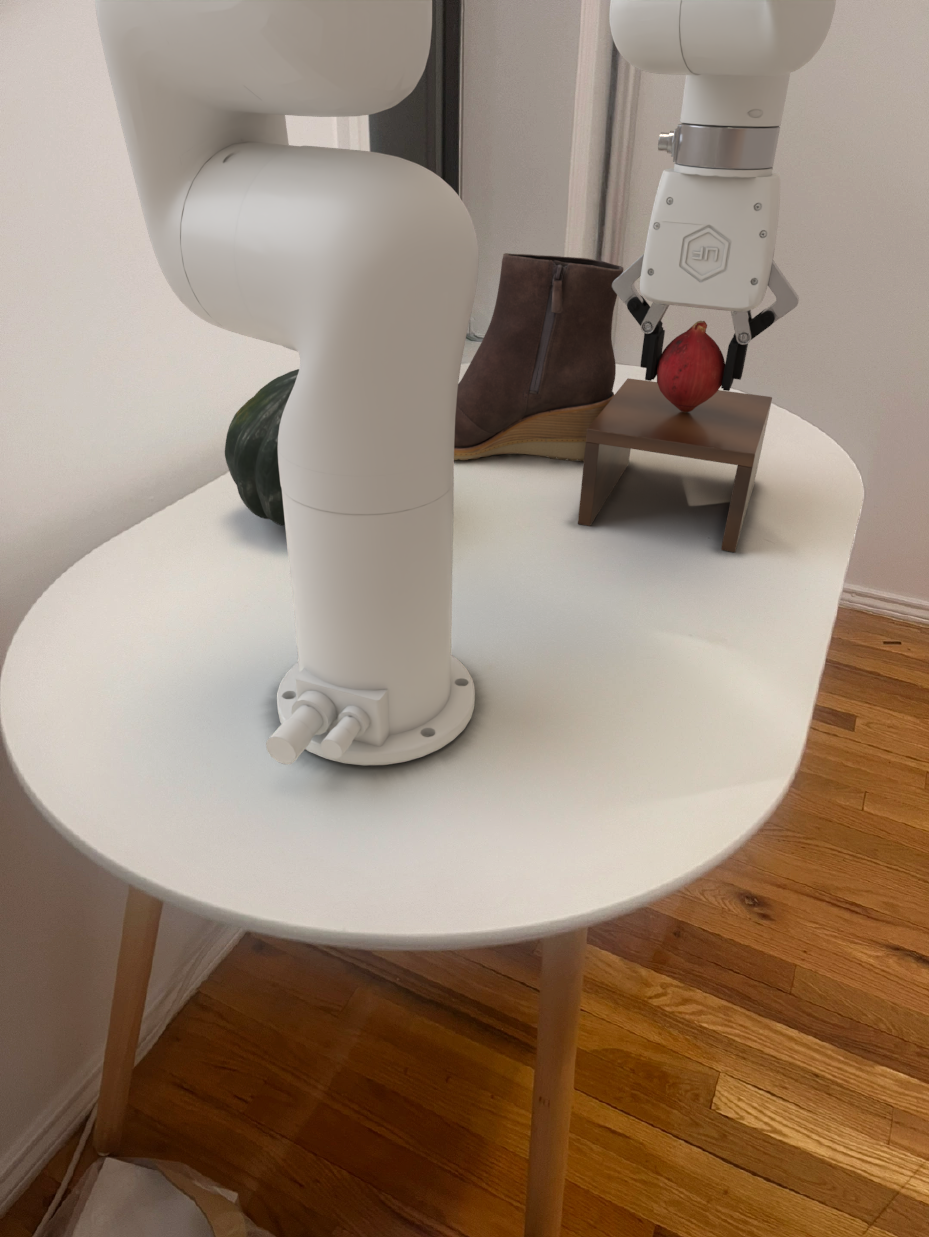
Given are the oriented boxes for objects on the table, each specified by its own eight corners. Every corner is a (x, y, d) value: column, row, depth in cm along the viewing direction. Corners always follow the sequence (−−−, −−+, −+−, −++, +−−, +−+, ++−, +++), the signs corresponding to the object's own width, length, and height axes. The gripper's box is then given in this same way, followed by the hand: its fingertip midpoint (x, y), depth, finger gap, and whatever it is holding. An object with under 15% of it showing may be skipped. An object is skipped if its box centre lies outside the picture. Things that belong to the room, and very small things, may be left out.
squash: (299, 413, 87) (232, 320, 73) (438, 442, 83) (395, 349, 69) (246, 542, 84) (166, 471, 70) (388, 578, 80) (333, 510, 66)
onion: (669, 424, 77) (683, 330, 72) (640, 404, 81) (652, 314, 77) (728, 420, 78) (746, 327, 74) (697, 400, 83) (712, 312, 78)
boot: (391, 430, 100) (386, 239, 89) (605, 441, 98) (627, 248, 87) (377, 459, 92) (369, 255, 82) (608, 472, 91) (632, 265, 80)
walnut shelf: (734, 552, 76) (755, 454, 71) (577, 523, 80) (586, 428, 75) (754, 484, 89) (772, 396, 84) (617, 462, 93) (627, 378, 88)
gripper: (605, 149, 68) (583, 380, 78) (841, 162, 63) (787, 407, 73) (626, 143, 74) (604, 359, 84) (843, 154, 69) (793, 382, 79)
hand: (689, 379), depth 78 cm, fingers closed on onion, 6 cm apart
